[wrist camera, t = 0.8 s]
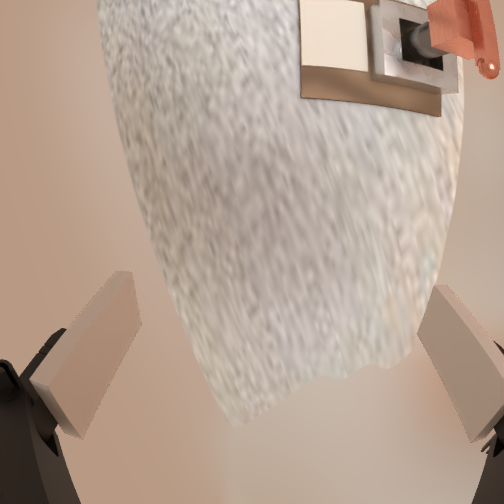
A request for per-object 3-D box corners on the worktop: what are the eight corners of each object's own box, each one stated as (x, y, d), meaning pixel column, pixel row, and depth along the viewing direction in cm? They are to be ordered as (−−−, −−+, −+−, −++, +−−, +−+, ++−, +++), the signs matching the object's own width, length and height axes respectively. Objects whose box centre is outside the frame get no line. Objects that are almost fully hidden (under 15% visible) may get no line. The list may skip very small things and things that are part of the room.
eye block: (366, 11, 26) (379, -2, 21) (434, 28, 25) (452, 20, 21) (370, 80, 30) (384, 74, 25) (438, 94, 29) (458, 92, 25)
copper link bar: (385, 12, 26) (454, -42, 9) (417, 20, 25) (494, -21, 9) (390, 87, 30) (475, 69, 14) (421, 94, 30) (514, 86, 13)
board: (297, -12, 26) (298, -16, 25) (431, 14, 25) (434, 12, 24) (300, 97, 32) (301, 97, 32) (437, 116, 31) (441, 116, 31)
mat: (299, -4, 26) (299, -5, 25) (362, 4, 26) (363, 3, 25) (301, 65, 30) (302, 64, 29) (366, 72, 29) (367, 71, 29)
